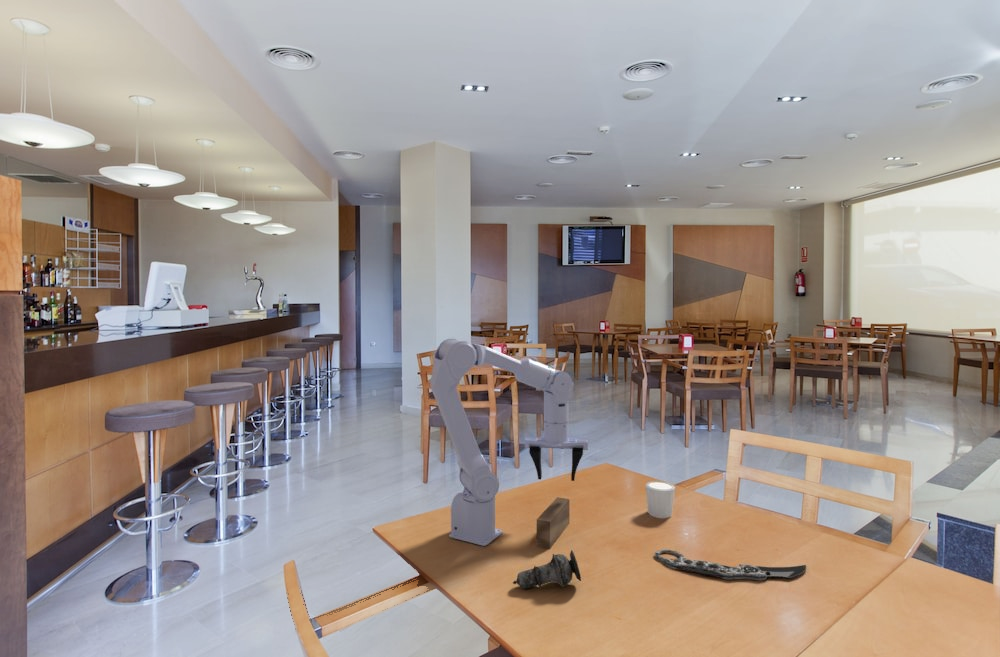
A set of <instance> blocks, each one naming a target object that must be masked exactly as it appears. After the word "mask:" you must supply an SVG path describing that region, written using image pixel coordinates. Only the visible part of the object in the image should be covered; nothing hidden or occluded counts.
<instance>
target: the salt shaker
mask: <svg viewBox="0 0 1000 657" xmlns="http://www.w3.org/2000/svg"><path fill="white" fill-rule="evenodd" d="M569 557H570V559H569V558H568V557H567V556H566V555H564V554H560V553H557V554H555V553H552V558H551V560H550V561H549V562H547V563H545V564H542V565H539V566H536V565H534V566H533V568H530V569H527V570H523V571H520V572H518V573H517V578H516V580H514V581H513V582H512V584H513V585H516V584H517V585H518V586H519V588H520V589H521V590H525V589H529V588H533V587H535V586H539V587H540V588H541V586H542V585H545V584H549V583H557V584H558V585H560V587H561V588H562V589H563V588H564V586H567V585H569V584H570V582H571V581H572V580H573V574H574V576H575V578H576V579H577V580H578V581H579V582H581V581H582V579H581V578H582V577H581V573H580V569H579V565H578V561H577V559H576V558H577V557H576V555H575V553H574V550H572V549H571V550H570V553H569Z"/></svg>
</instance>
